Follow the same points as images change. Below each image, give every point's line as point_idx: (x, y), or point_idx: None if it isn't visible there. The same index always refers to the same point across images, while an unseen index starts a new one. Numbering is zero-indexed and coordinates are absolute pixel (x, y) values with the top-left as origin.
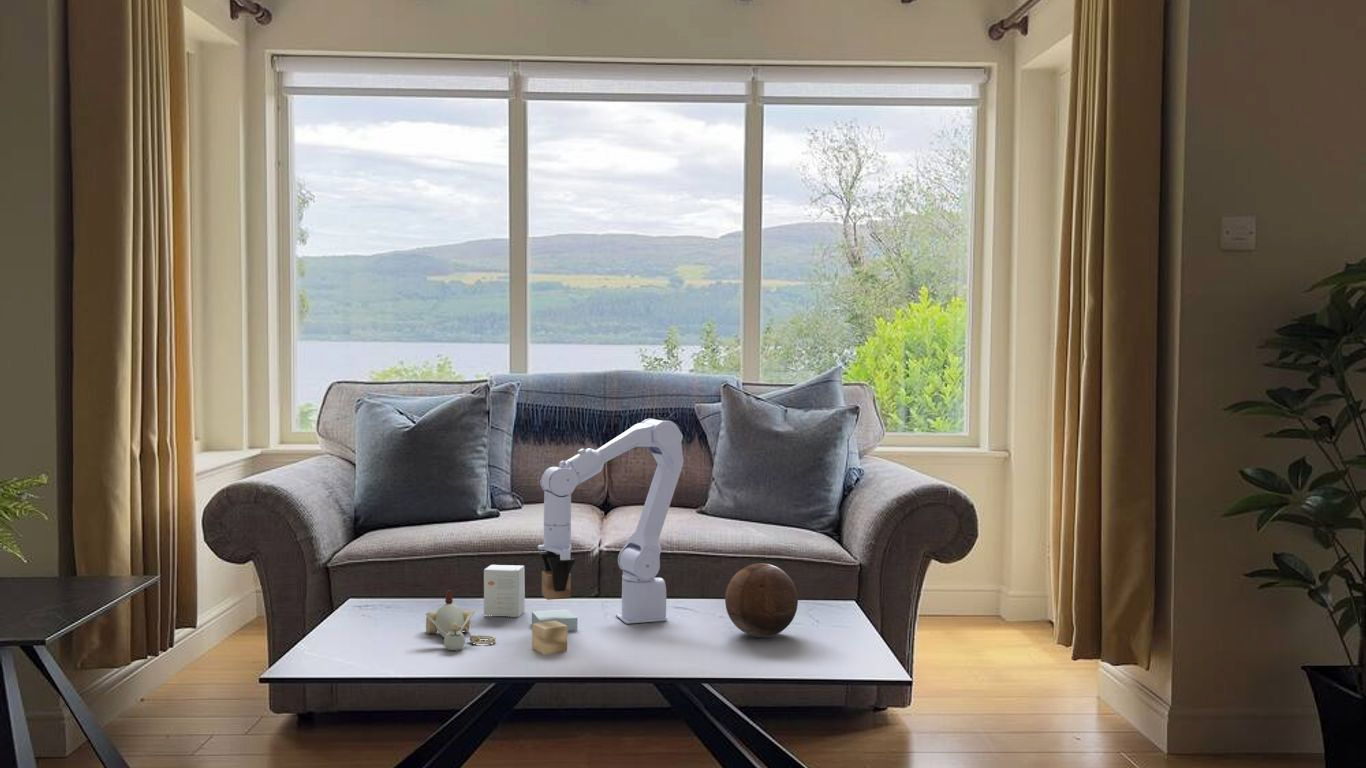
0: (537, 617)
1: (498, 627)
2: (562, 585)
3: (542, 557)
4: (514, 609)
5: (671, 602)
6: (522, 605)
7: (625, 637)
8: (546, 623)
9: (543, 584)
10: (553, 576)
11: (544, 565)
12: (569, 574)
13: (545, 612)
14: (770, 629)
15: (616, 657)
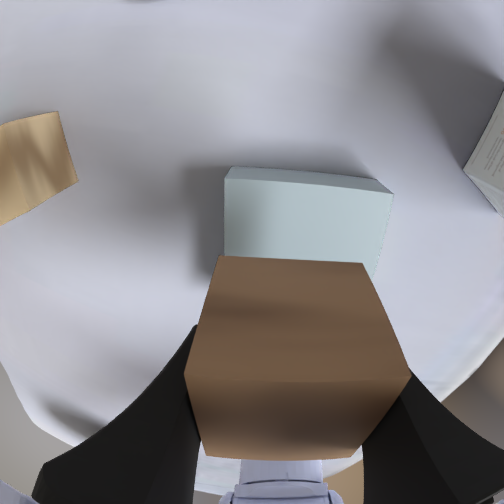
0: (280, 182)
1: (369, 48)
2: None
3: (448, 487)
4: (483, 164)
5: (360, 447)
6: (500, 207)
7: (133, 351)
8: (2, 173)
9: (331, 307)
10: (146, 392)
11: (443, 420)
12: (207, 453)
13: (351, 239)
14: None
15: (9, 280)
